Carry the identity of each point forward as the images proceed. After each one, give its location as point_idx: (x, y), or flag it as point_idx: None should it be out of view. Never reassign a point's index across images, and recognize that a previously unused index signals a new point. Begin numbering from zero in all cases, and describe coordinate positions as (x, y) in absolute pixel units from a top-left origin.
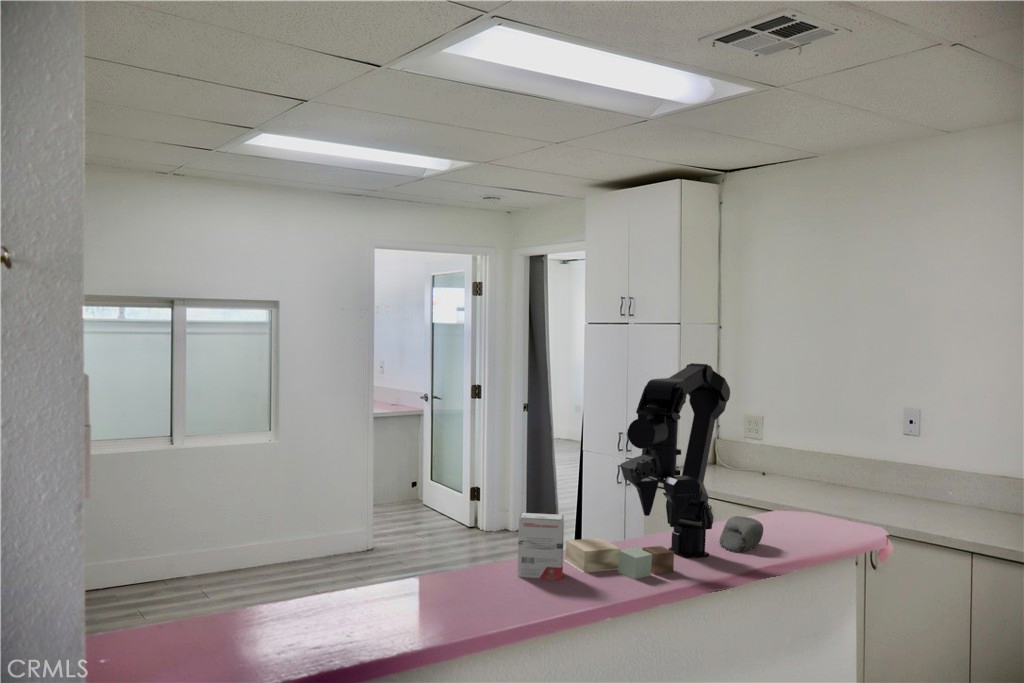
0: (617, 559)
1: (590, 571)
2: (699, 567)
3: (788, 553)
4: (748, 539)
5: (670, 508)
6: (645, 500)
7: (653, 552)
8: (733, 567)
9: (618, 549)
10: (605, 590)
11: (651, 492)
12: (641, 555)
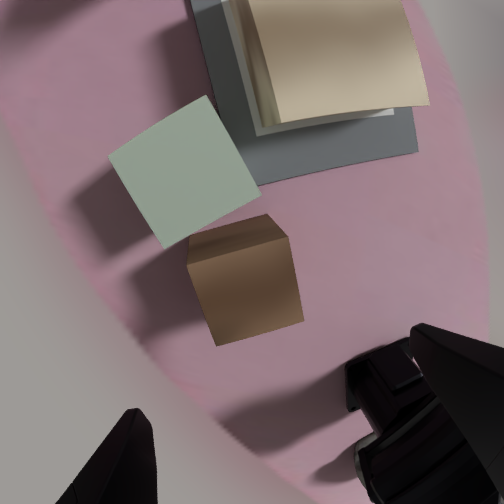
0: (268, 116)
1: (229, 19)
2: (272, 380)
3: (328, 487)
4: (357, 473)
5: (73, 499)
6: (474, 382)
7: (206, 265)
8: (265, 434)
9: (278, 115)
10: (60, 46)
11: (491, 444)
12: (140, 191)
